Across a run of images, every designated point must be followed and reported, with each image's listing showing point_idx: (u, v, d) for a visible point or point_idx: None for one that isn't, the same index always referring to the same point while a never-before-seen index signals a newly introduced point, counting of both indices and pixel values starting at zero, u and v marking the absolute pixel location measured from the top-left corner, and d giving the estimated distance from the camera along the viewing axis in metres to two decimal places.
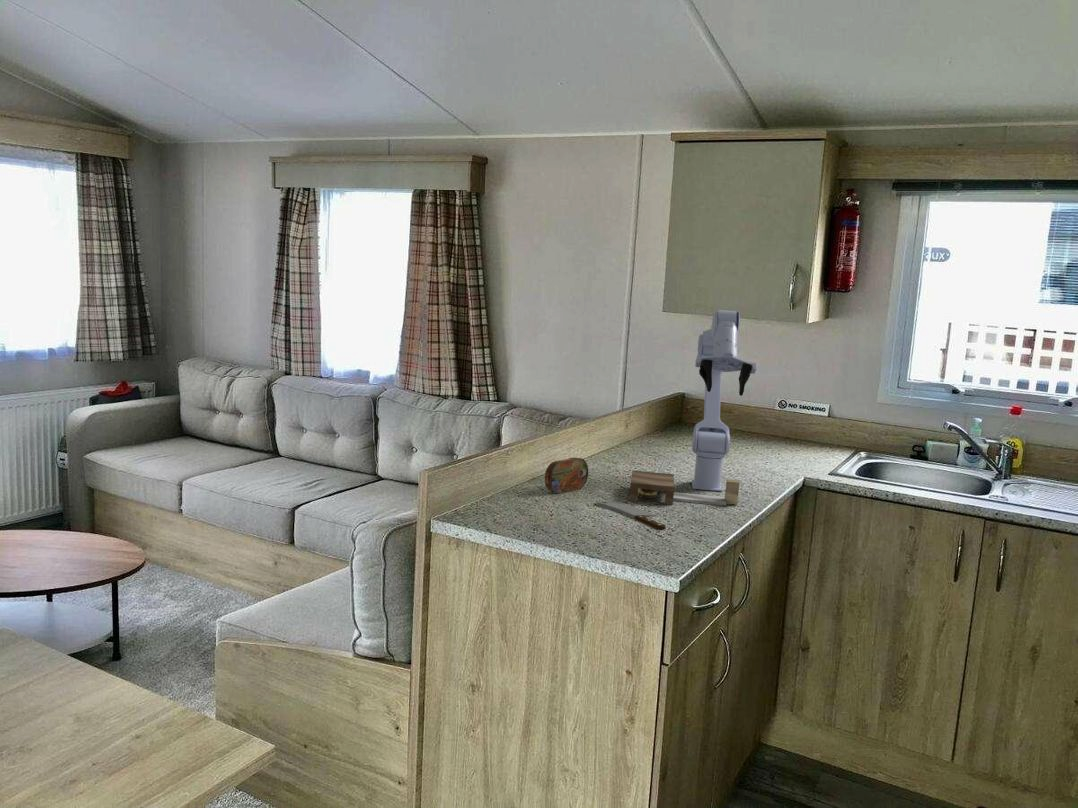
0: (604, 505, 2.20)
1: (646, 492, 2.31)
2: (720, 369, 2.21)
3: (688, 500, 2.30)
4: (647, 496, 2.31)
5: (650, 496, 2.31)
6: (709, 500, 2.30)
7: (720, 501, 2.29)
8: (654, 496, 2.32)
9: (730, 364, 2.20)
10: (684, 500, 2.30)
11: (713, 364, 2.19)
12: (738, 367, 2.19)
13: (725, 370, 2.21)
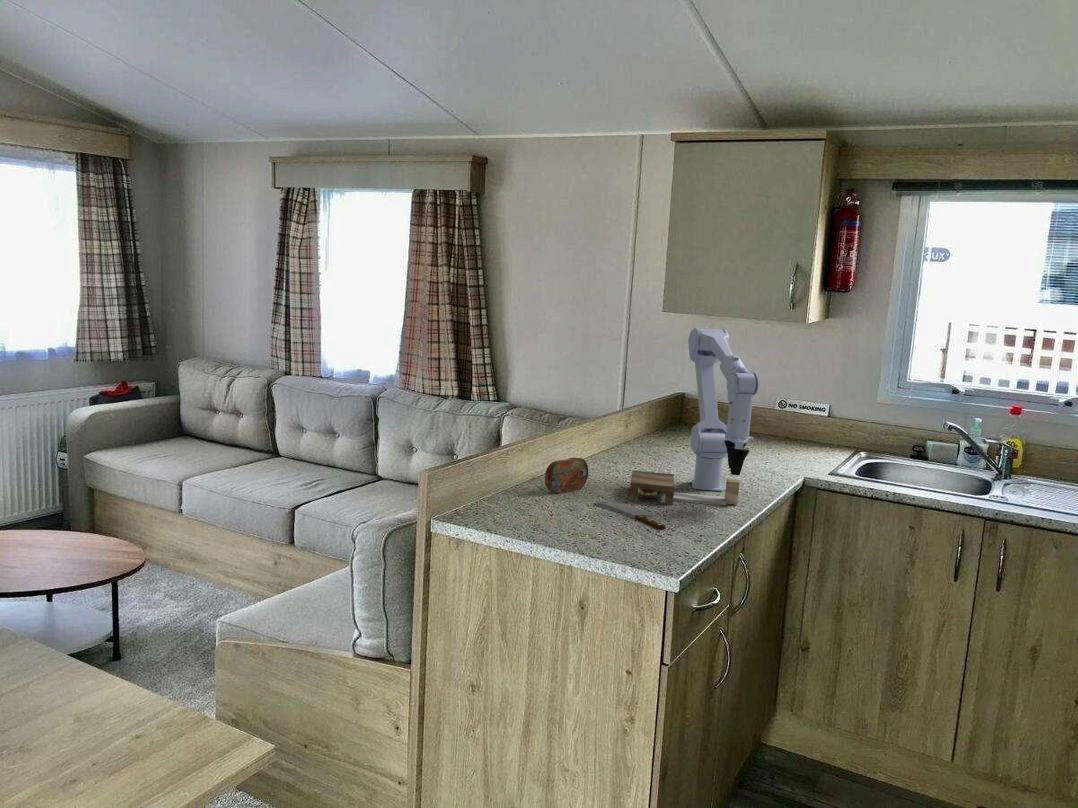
0: (604, 505, 2.20)
1: (646, 492, 2.31)
2: None
3: (688, 500, 2.30)
4: (647, 496, 2.31)
5: (650, 496, 2.31)
6: (709, 500, 2.30)
7: (720, 501, 2.29)
8: (654, 496, 2.32)
9: None
10: (684, 500, 2.30)
11: None
12: None
13: None
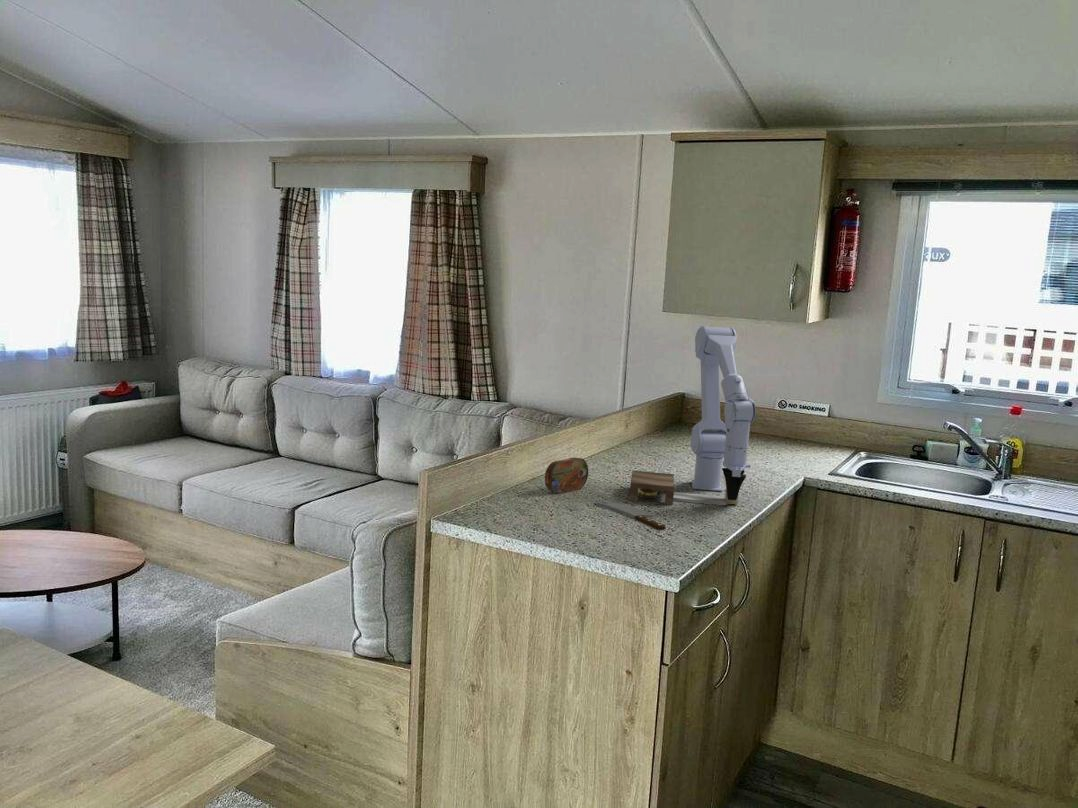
0: (604, 505, 2.20)
1: (646, 492, 2.31)
2: None
3: (688, 500, 2.30)
4: (647, 496, 2.31)
5: (650, 496, 2.31)
6: (709, 500, 2.30)
7: (720, 501, 2.29)
8: (654, 496, 2.32)
9: None
10: (684, 500, 2.30)
11: None
12: None
13: None
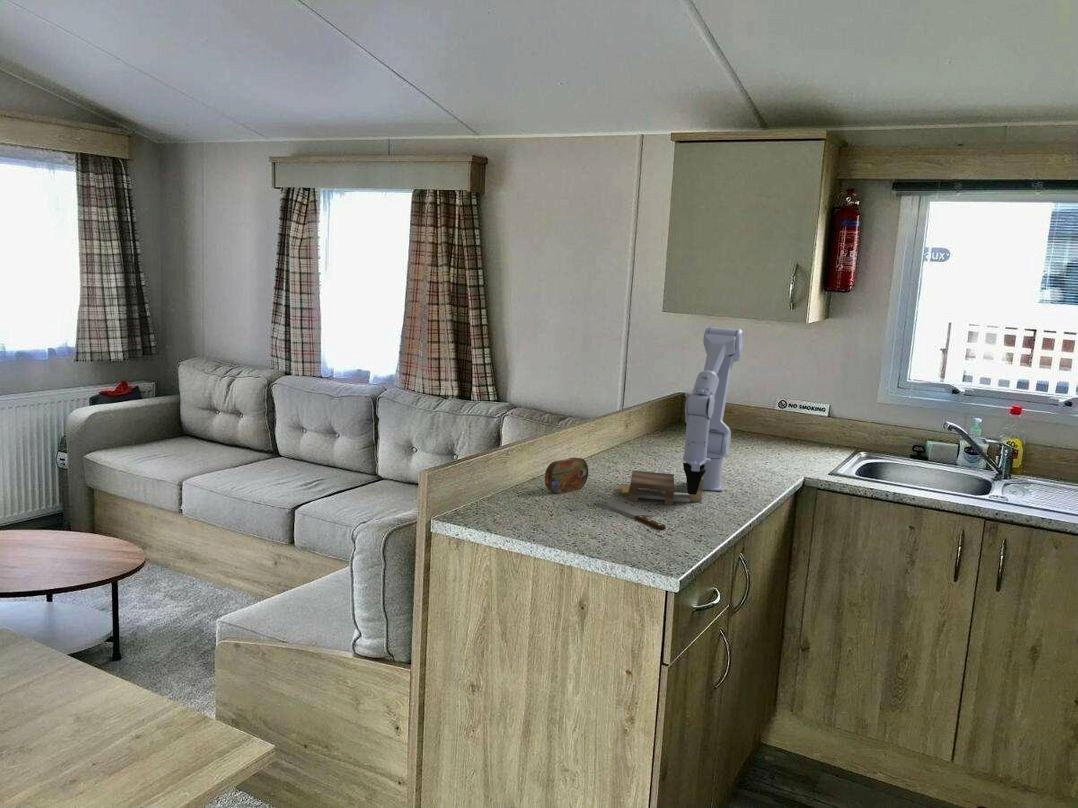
0: (604, 505, 2.20)
1: (626, 490, 2.32)
2: None
3: (652, 497, 2.31)
4: (627, 494, 2.32)
5: None
6: (673, 497, 2.31)
7: (684, 498, 2.31)
8: None
9: None
10: (648, 496, 2.31)
11: None
12: None
13: None
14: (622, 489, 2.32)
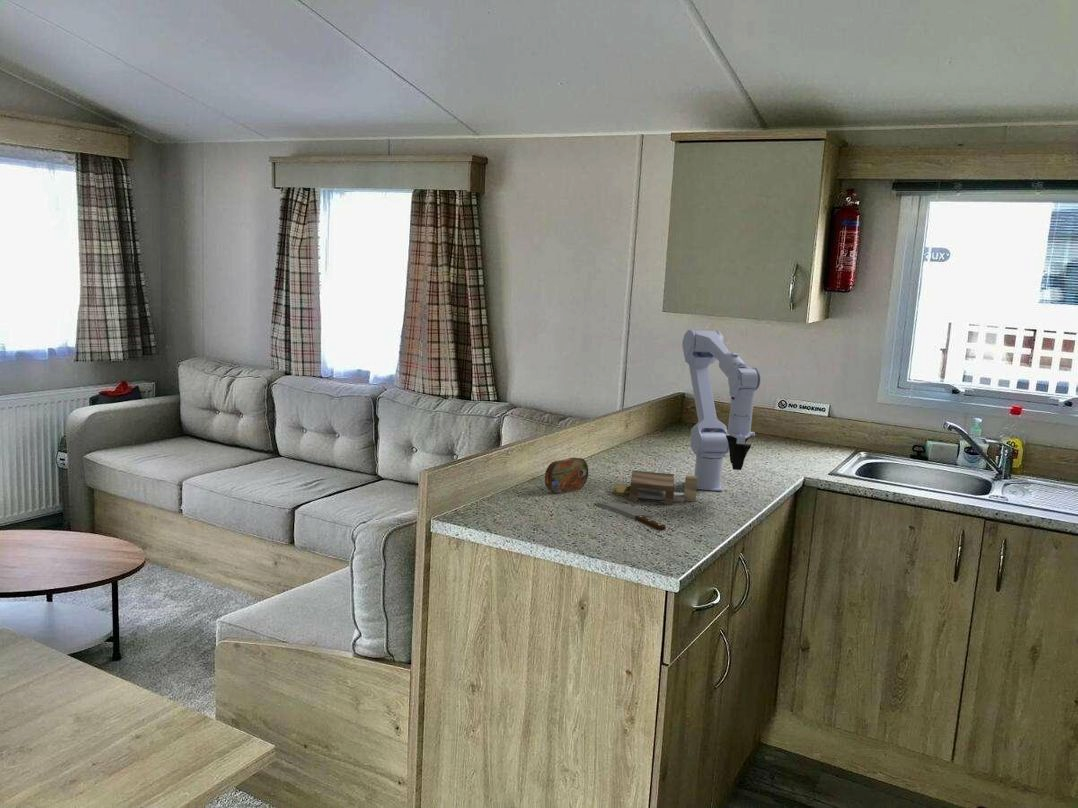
0: (604, 505, 2.20)
1: (620, 490, 2.32)
2: None
3: (647, 496, 2.31)
4: (621, 494, 2.32)
5: (624, 494, 2.32)
6: None
7: (679, 497, 2.31)
8: (629, 494, 2.33)
9: None
10: (643, 496, 2.31)
11: None
12: None
13: None
14: (616, 489, 2.33)
